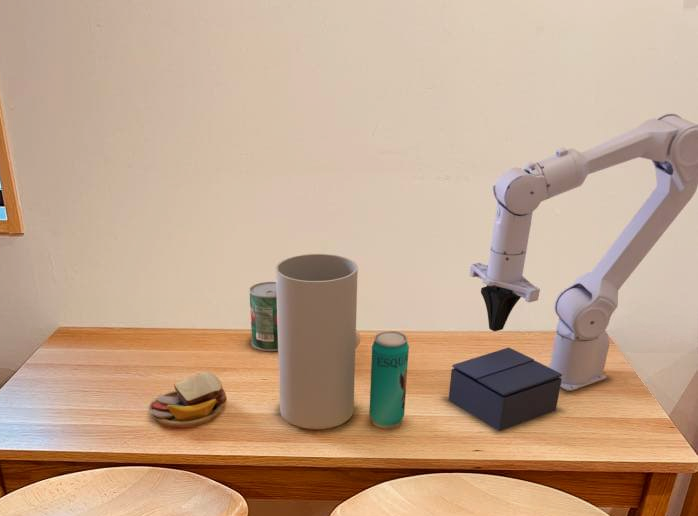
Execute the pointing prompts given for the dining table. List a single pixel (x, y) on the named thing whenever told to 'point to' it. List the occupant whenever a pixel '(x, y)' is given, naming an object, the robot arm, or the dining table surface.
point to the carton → (507, 394)
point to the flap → (492, 363)
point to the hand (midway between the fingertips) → (496, 329)
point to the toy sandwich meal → (189, 401)
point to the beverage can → (388, 379)
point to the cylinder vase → (316, 339)
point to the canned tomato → (264, 316)
